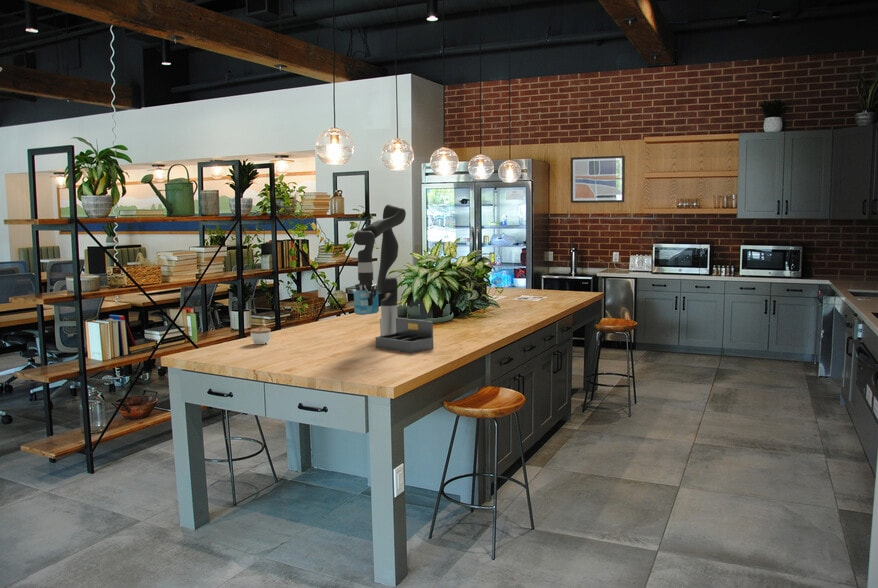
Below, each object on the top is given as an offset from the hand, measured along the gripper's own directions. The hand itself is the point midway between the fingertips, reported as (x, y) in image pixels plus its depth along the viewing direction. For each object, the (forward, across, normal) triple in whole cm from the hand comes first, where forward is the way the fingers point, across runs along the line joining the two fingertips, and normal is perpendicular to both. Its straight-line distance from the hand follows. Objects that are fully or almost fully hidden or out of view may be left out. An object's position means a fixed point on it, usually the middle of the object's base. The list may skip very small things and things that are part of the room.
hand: (366, 304), depth 350 cm
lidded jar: (+24, -61, -22) cm, 69 cm away
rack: (+23, +12, +14) cm, 29 cm away
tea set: (+25, -47, +90) cm, 105 cm away
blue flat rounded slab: (+5, 0, 0) cm, 5 cm away
